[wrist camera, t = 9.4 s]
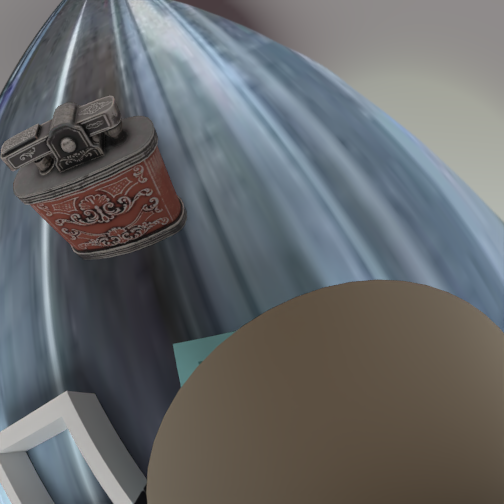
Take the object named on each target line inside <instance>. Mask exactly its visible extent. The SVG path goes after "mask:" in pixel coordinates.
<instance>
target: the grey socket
mask: <svg viewBox="0 0 504 504" xmlns="http://www.w3.org/2000/svg"><path fill="white" fill-rule="evenodd" d="M66 429H68V430H69V432H70V433H71V435H72V437H73V439H74V441H75V443H76V445H77V446H78V448H79V450H80V452H81V454H82V455H83V457H84V459H85V460H86V462H87V464H88V465H89V467H90V469H91V470H92V472H93V474H94V475H95V477H96V478H97V480H98V481H99V483H100V485H101V486H102V488H103V489H104V491H105V492H106V493H107V495H108V496H109V498H110V499H111V501H112V502H113V503H114V504H134V503H135V501H136V500H137V498H138V496H139V495H140V493H141V491H144V490H143V488H144V486H145V485H146V483H147V479H146V477H145V476H144V475H143V473H142V472H141V470H140V469H139V467H138V466H137V464H136V463H135V461H134V460H133V458H132V457H131V455H130V454H129V452H128V451H127V449H126V448H125V446H124V444H123V443H122V441H121V439H120V438H119V436H118V434H117V433H116V431H115V429H114V428H113V426H112V424H111V423H110V421H109V419H108V417H107V415H106V414H105V412H104V410H103V408H102V406H101V404H100V403H99V401H98V399H97V397H96V395H95V393H83V392H73V391H65V392H64V393H62V394H61V395H59V396H57V397H56V398H54V399H53V400H51V401H49V402H48V403H46V404H45V405H43V406H41V407H40V408H38V409H37V410H35V411H33V412H32V413H30V414H28V415H27V416H25V417H24V418H22V419H20V420H19V421H17V422H16V423H14V424H12V425H11V426H9V427H7V428H6V429H4V430H2V431H1V432H0V483H1V485H2V486H3V488H4V490H5V492H6V494H7V496H8V498H9V499H10V501H11V503H12V504H55V503H54V502H53V500H52V499H51V497H50V495H49V494H48V492H47V490H46V488H45V487H44V485H43V483H42V482H41V480H40V478H39V476H38V474H37V472H36V471H35V469H34V467H33V465H32V463H31V461H30V459H29V457H28V455H27V453H26V451H28V450H29V449H31V448H33V447H35V446H37V445H39V444H41V443H43V442H44V441H46V440H48V439H50V438H52V437H54V436H55V435H57V434H59V433H61V432H63V431H65V430H66Z"/></svg>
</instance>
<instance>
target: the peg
mask: <svg viewBox="0 0 504 504" xmlns="http://www.w3.org/2000/svg"><path fill="white" fill-rule="evenodd" d="M146 495H147V504H504V333H503V332H502V331H501V329H500V328H499V327H498V326H497V325H496V324H495V323H493V322H492V321H491V320H490V319H489V318H488V317H487V316H486V315H485V314H484V313H482V312H481V311H479V310H478V309H477V308H475V307H474V306H472V305H471V304H470V303H468V302H466V301H464V300H462V299H460V298H458V297H456V296H454V295H452V294H450V293H448V292H445V291H442V290H439V289H436V288H433V287H430V286H427V285H423V284H417V283H412V282H406V281H395V280H368V281H356V282H348V283H344V284H339V285H334V286H329V287H324V288H321V289H318V290H315V291H312V292H309V293H306V294H304V295H301V296H298V297H295V298H293V299H291V300H289V301H287V302H284V303H282V304H280V305H278V306H276V307H274V308H272V309H270V310H268V311H266V312H265V313H263V314H261V315H260V316H258V317H257V318H255V319H253V320H252V321H250V322H249V323H247V324H245V325H244V326H242V327H241V328H240V329H238V330H237V331H236V332H235V333H233V334H232V335H231V336H230V337H228V338H227V339H226V340H225V341H223V342H222V343H221V344H220V345H218V346H217V347H216V348H215V349H214V350H213V351H212V352H211V353H210V354H209V355H208V356H207V357H206V359H205V360H204V361H203V362H202V363H201V364H200V365H199V366H198V367H197V368H196V369H195V370H194V372H193V373H192V374H191V375H190V377H189V378H188V379H187V381H186V382H185V383H184V385H183V386H182V387H181V389H180V390H179V391H178V393H177V395H176V396H175V398H174V400H173V402H172V403H171V405H170V407H169V409H168V410H167V412H166V414H165V415H164V418H163V420H162V423H161V425H160V428H159V430H158V433H157V435H156V438H155V440H154V443H153V448H152V452H151V456H150V461H149V465H148V473H147V490H146Z"/></svg>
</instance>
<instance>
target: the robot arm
mask: <svg viewBox="0 0 504 504" xmlns="http://www.w3.org/2000/svg"><path fill="white" fill-rule="evenodd" d="M143 490H144V491H141V493H140V495H139V496H138V498H137V500H136V501H135V503H134V504H147V495H146V490H147V483H146V485H145V486H144V488H143Z"/></svg>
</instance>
